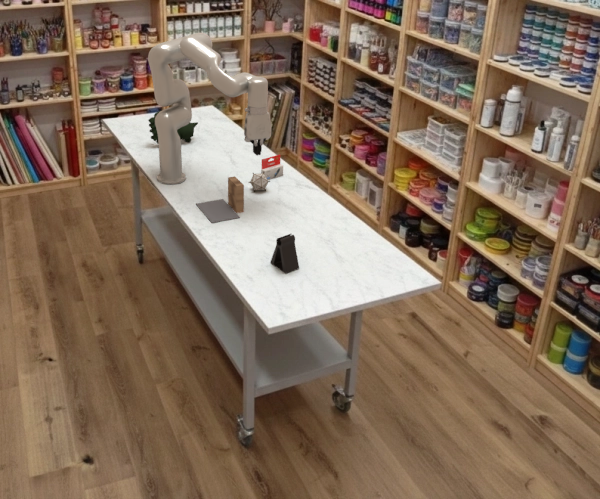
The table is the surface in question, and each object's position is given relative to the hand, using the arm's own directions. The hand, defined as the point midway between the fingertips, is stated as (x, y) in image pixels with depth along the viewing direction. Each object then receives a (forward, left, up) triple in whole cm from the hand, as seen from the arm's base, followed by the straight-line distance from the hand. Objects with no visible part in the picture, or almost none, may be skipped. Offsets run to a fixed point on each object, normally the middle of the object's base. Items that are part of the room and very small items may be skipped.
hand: (257, 153), depth 280 cm
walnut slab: (0, -9, -23) cm, 24 cm away
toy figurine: (-76, -9, -23) cm, 80 cm away
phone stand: (+49, -11, -23) cm, 55 cm away
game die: (-12, +7, -23) cm, 27 cm away
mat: (0, -17, -22) cm, 28 cm away
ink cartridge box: (-22, +18, -23) cm, 37 cm away
